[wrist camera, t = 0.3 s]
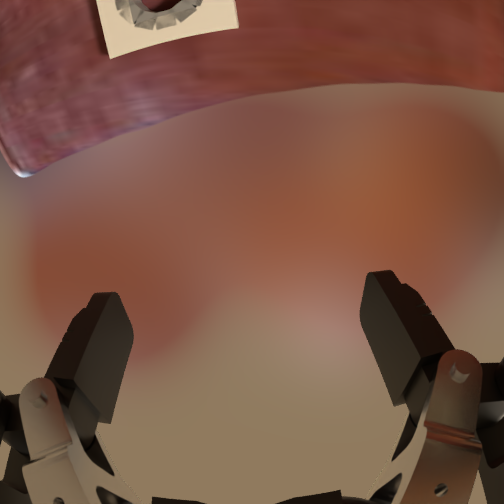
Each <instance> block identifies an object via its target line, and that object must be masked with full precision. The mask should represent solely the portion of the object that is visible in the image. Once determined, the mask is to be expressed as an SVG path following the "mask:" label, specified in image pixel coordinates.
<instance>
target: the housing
mask: <svg viewBox="0 0 504 504" xmlns="http://www.w3.org/2000/svg"><path fill="white" fill-rule="evenodd" d="M96 1H97V6H98V11H99V15H100V20H101V24H102V28H103V33H104V37H105V41H106V45H107V49H108V53H109V57H110V59H111V58H114V57H117V56H120V55H123V54H126V53H129V52H132V51H135V50H138V49H141V48H145V47H148V46H152V45H155V44H159V43H163V42H167V41H170V40H175V39H179V38H183V37H188V36H192V35H197V34H203V33H208V32H214V31H220V30H226V29H234V28H239V23H238V17H237V10H236V4H235V0H181V1H180V2H179V3H178V4H176V5H175V6H174V7H173V8H171V9H169V10H166V11H162V12H156V11H151V10H149V9H148V8H147V7H146V6H145V5H144V4H143V3H142V1H141V0H96Z"/></svg>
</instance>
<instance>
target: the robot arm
mask: <svg viewBox="0 0 504 504" xmlns="http://www.w3.org/2000/svg"><path fill="white" fill-rule="evenodd" d="M360 322H361V325H362V328H363V331H364V333H365V335H366V338H367V340H368V342H369V345H370V347H371V349H372V352H373V354H374V357H375V359H376V362H377V364H378V367H379V369H380V371H381V374H382V377H383V379H384V382H385V384H386V387H387V389H388V392H389V395H390V397H391V400H392V402H393V405H394V406H398V405H401V404H404V403H406V404H407V407H408V409H409V410H408V412H407V414H406V416H405V419H404V421H403V424H402V427H401V430H400V432H399V435H398V437H397V440H396V442H395V445H394V447H393V449H392V452H391V454H390V456H389V459H388V461H387V463H386V465H385V467H384V468H383V470H382V471H381V473H380V474H379V476H378V477H377V479H376V480H375V482H374V484H373V486H372V487H371V489H370V491H369V493H368V495H367V497H366V499H362V498H356V497H344V496H343V497H342V496H341V490H337V491H333V492H327V493H321V494H316V495H309V496H303V497H295V498H292V499H289V500H286V501H283V502H280V503H277V504H468V502H469V499H470V496H471V492H472V489H473V485H474V482H475V479H476V475H477V471H478V470H479V473H480V477H481V480H482V484H483V488H484V492H485V496H486V500H487V504H504V358H503V359H502V361H501V362H500V363H479V361H478V360H477V359H476V358H475V357H474V356H473V355H472V354H470V353H469V352H466V351H464V350H458V349H457V350H456V349H455V348H454V346H453V345H452V343H451V342H450V340H449V338H448V337H447V335H446V334H445V332H444V330H443V329H442V327H441V326H440V324H439V323H438V321H437V319H436V318H435V316H434V315H432V312H431V311H430V309H429V307H428V306H426V303H425V302H424V300H423V299H422V297H421V296H420V294H419V293H418V292H417V291H416V290H414V289H413V288H411V287H410V286H408V285H407V284H406V283H405V284H401V283H400V281H399V280H398V278H397V277H396V276H395V274H394V272H393V271H391V270H384V271H376V272H369V273H368V274H367V276H366V281H365V287H364V291H363V297H362V302H361V307H360ZM133 339H134V335H133V328H132V325H131V323H130V320H129V318H128V316H127V313H126V311H125V309H124V306H123V304H122V302H121V299H120V296H119V295H118V293H116V292H102V293H94V294H93V296H92V297H91V299H90V301H89V303H88V305H87V307H86V308H83V309H82V310H81V311H80V312H79V313H78V314H77V315H76V316H75V317H74V318H73V319H72V321H71V323H70V325H69V327H68V329H67V332H66V333H65V335H64V337H63V339H62V342H61V343H60V345H59V347H58V349H57V351H56V353H55V355H54V357H53V359H52V361H51V363H50V365H49V368H48V370H47V372H46V374H45V376H44V378H36V379H34V380H32V381H30V382H29V383H28V384H27V385H26V386H25V387H24V388H23V390H22V391H21V394H15V395H9V396H5V395H4V394H3V393H2V392H1V391H0V444H1V441H2V440H3V441H4V442H6V443H7V444H8V445H9V446H11V450H10V453H9V458H8V461H7V466H6V470H5V475H4V478H3V480H2V481H0V504H143V503H142V502H141V500H140V499H139V497H138V496H137V495H136V494H135V492H134V491H133V490H132V489H131V488H130V487H129V486H128V485H127V484H126V483H125V481H124V480H123V479H122V477H121V475H120V474H119V472H118V470H117V468H116V466H115V465H114V463H113V461H112V459H111V457H110V455H109V453H108V451H107V449H106V447H105V445H104V443H103V441H102V439H101V437H100V434H99V433H98V431H97V430H96V427H97V423H98V422H102V423H108V424H111V420H112V416H113V412H114V408H115V404H116V401H117V397H118V393H119V389H120V386H121V382H122V378H123V375H124V371H125V368H126V365H127V361H128V357H129V354H130V351H131V348H132V344H133ZM152 504H205V503H201V502H198V501H189V500H177V499H166V498H159V497H152Z"/></svg>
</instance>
